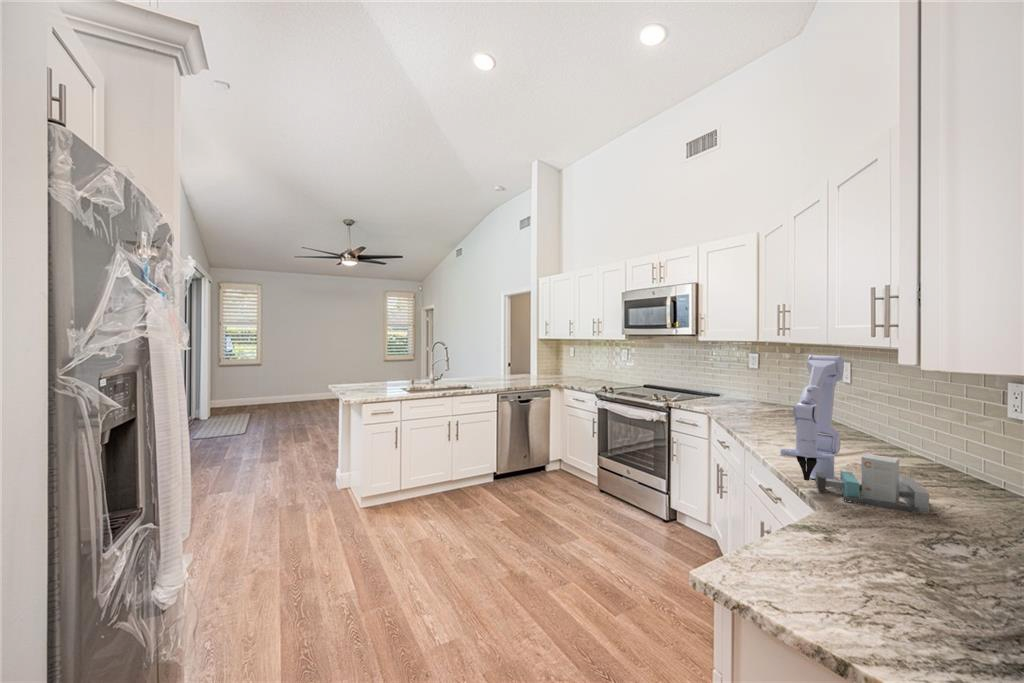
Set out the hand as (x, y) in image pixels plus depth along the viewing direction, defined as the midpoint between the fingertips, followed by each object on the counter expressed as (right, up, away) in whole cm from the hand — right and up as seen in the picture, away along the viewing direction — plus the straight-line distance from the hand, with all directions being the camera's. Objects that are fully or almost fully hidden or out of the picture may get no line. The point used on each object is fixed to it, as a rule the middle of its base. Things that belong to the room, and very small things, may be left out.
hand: (806, 479), depth 137 cm
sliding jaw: (+7, -3, -4) cm, 8 cm away
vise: (+16, -3, -10) cm, 19 cm away
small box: (+16, -3, -10) cm, 19 cm away
